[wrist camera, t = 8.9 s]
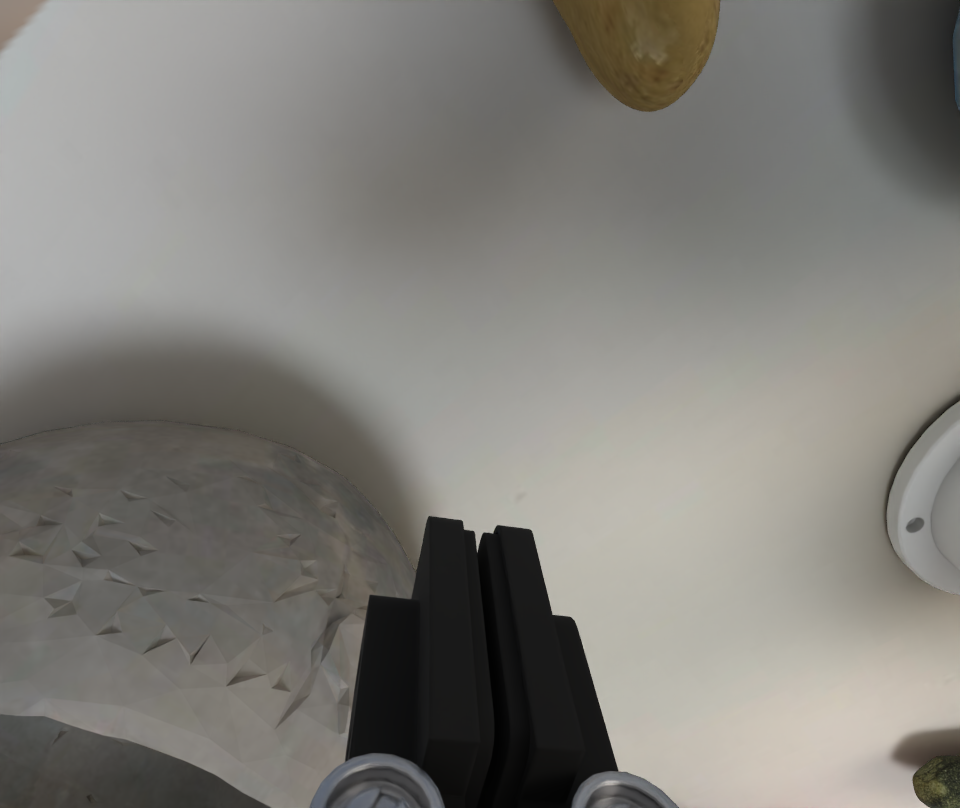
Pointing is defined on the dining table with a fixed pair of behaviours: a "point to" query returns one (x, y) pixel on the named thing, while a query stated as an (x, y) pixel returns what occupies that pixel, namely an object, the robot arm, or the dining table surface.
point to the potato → (643, 45)
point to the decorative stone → (939, 782)
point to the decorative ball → (957, 59)
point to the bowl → (179, 617)
